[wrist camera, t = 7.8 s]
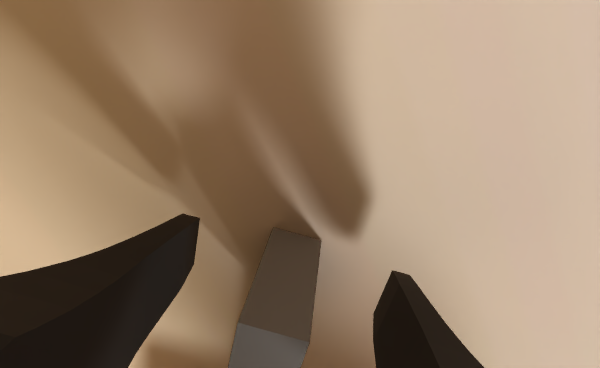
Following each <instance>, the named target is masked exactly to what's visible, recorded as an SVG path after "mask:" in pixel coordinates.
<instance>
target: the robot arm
mask: <svg viewBox="0 0 600 368" xmlns="http://www.w3.org/2000/svg"><path fill="white" fill-rule="evenodd" d="M199 220H200V218H197V217H193V216H190V215H186V214H181V215H179V216H177V217H175V218H173V219H171V220H169V221H167V222H165V223H162V224H160V225H158V226H156V227H154V228H152V229H150V230H148V231H146V232H143V233H141V234H139V235H137V236H135V237H132V238H130V239H128V240H125V241H123V242H120V243H118V244H115V245H113V246H111V247H108V248H106V249H103V250H100V251H97V252H94V253H92V254H89V255H85V256H82V257H79V258H76V259H73V260H70V261H66V262H62V263H58V264H54V265H51V266H47V267H43V268H39V269H35V270H31V271H26V272H22V273H17V274H12V275H7V276H2V277H0V368H128V366H129V365H130V363H131V361H132V359H133V358H134V356H135V354H136V353H137V351H138V350H139V348H140V346H141V345H142V343H143V342H144V340H145V339H146V338H147V336H148V335H149V333H150V332H151V330H152V329H153V328H154V326H155V325H156V323H157V322H158V321H159V319H160V318H161V316H162V315H163V314H164V312H165V311H166V309H167V308H168V306H169V305H170V304H171V302H172V301H173V299H174V298H175V296H176V295H177V294H178V292H179V291H180V289H181V288H182V286H183V284H184V282H185V280H186V278H187V276H188V275H189V273H190V271H191V269H192V267H193V265H194V259H195V251H196V243H197V236H198V228H199ZM373 342H374V352H375V360H376V368H484V367H483V366H482V365H481V364H480V363H479V362H478V360H477V359H476V358H475V357H474V356H473V355H472V354H471V353H470V352H469V351H468V349H467V348H466V347H465V346H464V345H463V344H462V342H461V341H460V340H459V339H458V338H457V336H456V335H455V334H454V333H453V332H452V330H451V329H450V328H449V327H448V325H447V324H446V323H445V322H444V320H443V319H442V318H441V316H440V315H439V314H438V312H437V311H436V310H435V308H434V307H433V306H432V304H431V303H430V302H429V300H428V299H427V298H426V296H425V295H424V293H423V292H422V291H421V289H420V288H419V287H418V285H417V284H416V283H415V281H414V280H413V279H412V277H411V276H410V275H408V274H404V273H400V272H397V271H393V270H392V272H391V275H390V277H389V279H388V281H387V284H386V286H385V288H384V291H383V293H382V295H381V297H380V300H379V302H378V304H377V307H376V309H375V311H374V319H373Z"/></svg>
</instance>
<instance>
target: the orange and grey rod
mask: <svg viewBox="0 0 600 368" xmlns="http://www.w3.org/2000/svg"><path fill="white" fill-rule="evenodd" d="M320 248H321V240H318V239H314V238H311V237H307V236H303V235H299V234H296V233H292V232H288V231H285V230H281V229H277V228H274V227H273V230H272V232H271V235H270V238H269V240H268V243H267V246H266V248H265V251H264V254H263V256H262V259H261V262H260V264H259V267H258V270H257V272H256V275H255V278H254V281H253V283H252V286H251V289H250V291H249V294H248V297H247V299H246V302H245V305H244V307H243V310H242V313H241V315H240V318H239V321H238V324H237V328H236V333H235V338H234V342H233V347H232V351H231V356H230V361H229V365H228V368H301V365H302V362H303V360H304V357H305V354H306V351H307V348H308V345H309V342H310V334H311V325H312V317H313V308H314V300H315V291H316V282H317V274H318V265H319V257H320Z"/></svg>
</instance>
